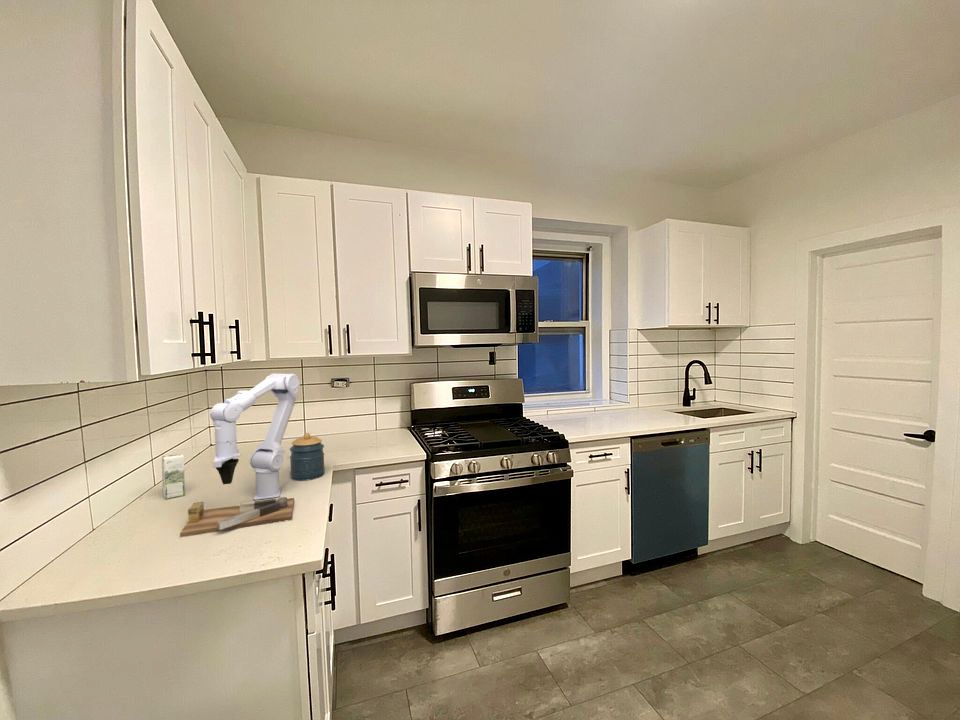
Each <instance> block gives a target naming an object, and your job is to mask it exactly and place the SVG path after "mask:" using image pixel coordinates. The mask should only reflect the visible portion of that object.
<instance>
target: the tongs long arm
mask: <svg viewBox="0 0 960 720" xmlns="http://www.w3.org/2000/svg"><path fill="white" fill-rule="evenodd" d="M278 510H280V503H278V502H275V503H272V504H269V505H266V506H263V507H260V508H257V509H255V510H251V511H248V512H245V513H242V514H239V515H236V516H233V517H230V518H227V519H224V520H221V521H217V529H219V530H221V529H224V528H227V527H230V526H233V525H236V524H239V523H242V522H245V521H248V520H251V519H254V518H257V517H260V516H263V515H266V514H269V513H272V512H275V511H278Z"/></svg>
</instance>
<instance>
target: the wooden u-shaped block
mask: <svg viewBox="0 0 960 720" xmlns="http://www.w3.org/2000/svg"><path fill="white" fill-rule="evenodd" d="M204 503H205V502H204V501H198V502H197V501H196V502H193V503H192V504H191V506H190V507H189V508H188V510H187V511H188V513H187V515H188V517H187V519H188V520H187V521H189V523H193V522H199V515H204V510H205V507H204V505H205V504H204Z"/></svg>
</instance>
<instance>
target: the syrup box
mask: <svg viewBox="0 0 960 720" xmlns="http://www.w3.org/2000/svg"><path fill="white" fill-rule="evenodd" d="M161 469H162V470H161V473H162V475H161V477H162V496H163V497H164V500H170V499H174V498H178V497H179V498H180V497H182V496H185V495H186V494H185V493H186V490H185V489H186V487H185V486H186V483H185V482H186V481H185V480H186V479H185V456H184V455H183V454H182V453H180V452H179V453H173V454H167V455H162V456H161Z"/></svg>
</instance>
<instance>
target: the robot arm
mask: <svg viewBox="0 0 960 720" xmlns="http://www.w3.org/2000/svg"><path fill="white" fill-rule="evenodd" d="M300 385H301V381H300V380H299V377H298V375H297V374H295V373H276V372H272V373H271V374H269V375H267V376H265V379H264V380H262V381H261V382H259V383H258V384H257V385H254V387H253V388H251V389H250V390H246V389H245V390H239V391H237V392H236V394H235V395H234V396H232V397H230V398H227V399H225V401H224V402H220V403H219V402H218V403H215V405H214V406H212V408H211V410H210V412H209V418H210V419H211V420H212V422H213V426H214V440H215V441H214V442H215V443H214V445H215V446H214V447H215V448H214V449H215V456H214V460H212V468H214V469H216V470H217V472H218V474H219V477H220V479H221V483H222V485H231V484H232V482H233V479H234V473H235V470H236V467H237V465H238V463H239V457H241V456H242V453H241V452H239V448H238V446H237V444H238V442H237V441H238V440H237V420H239V418H240V416H241V414H242V413H243V412H245V411H246V410H247V409H249V408H250V407H252V406H253V405H255V403H256V399H259V397H261V396H263V395H265V394H267V393H269V392H270V391H271V392H272V393H273V394H274V396H275V397H276V398H277V399H278V402H277V405H276V407H275V410H274V413H273V416H272V419H271V422H270V425H269V427H268V430H267V433H266V435H265V438H264V441H263V442H261V443H260V444H258V445H257V446H256V448H255V450H254V451H253V453H252V454H251V456H250V458H249V465H250V466H251V468H252V469H253V471H254V472H255V494H254V497H253V501H260V500H268V499H275V498H280V496H281V491H282V487H281V486H280V481H279V480H280V479H279V473H280V472H279V471H280V470H281V468H282V466H283V464H284V455H285V452H286V451H285V449H284V448H283V447H282V445H281V444H282V441H283V438H284V435H285V433H286V429H287V426H288V423H289V421H290V418H291V415H292V413H293V410H294V406H295V404H296V400H297V394H298V392H299V388H300Z"/></svg>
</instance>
